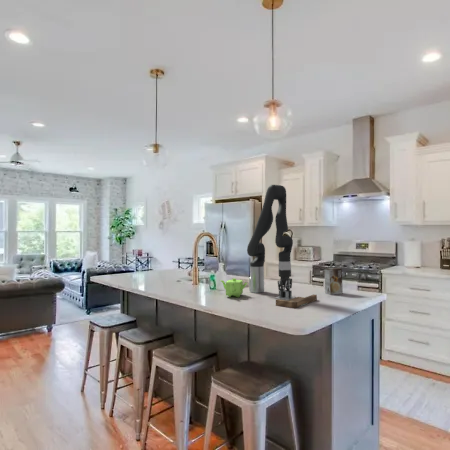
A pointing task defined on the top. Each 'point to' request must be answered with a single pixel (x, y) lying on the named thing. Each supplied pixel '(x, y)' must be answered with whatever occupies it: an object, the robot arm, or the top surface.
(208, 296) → the top surface
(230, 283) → the kettle
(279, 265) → the robot arm
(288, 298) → the grey concrete tile
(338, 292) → the coffee box
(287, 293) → the clip
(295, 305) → the wooden tray
